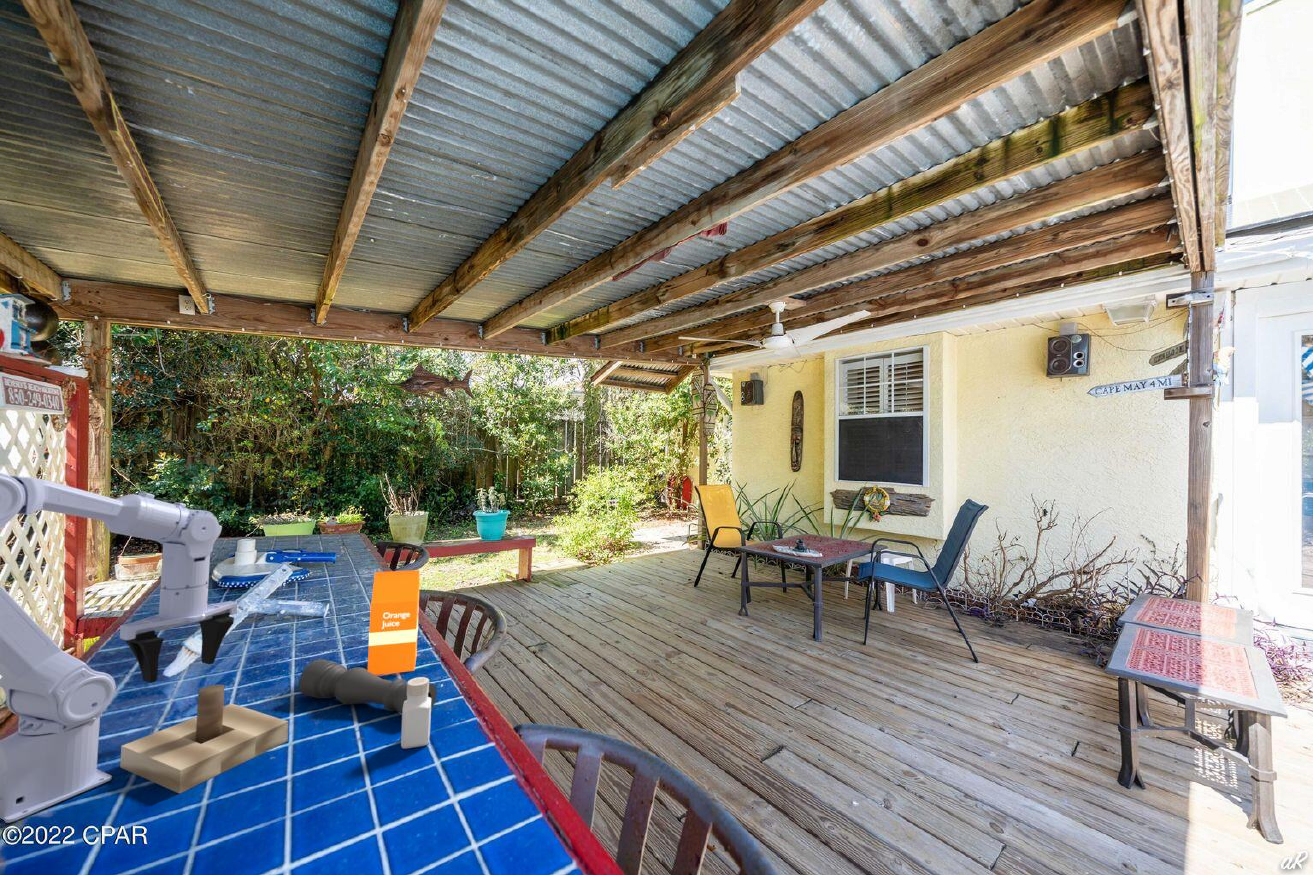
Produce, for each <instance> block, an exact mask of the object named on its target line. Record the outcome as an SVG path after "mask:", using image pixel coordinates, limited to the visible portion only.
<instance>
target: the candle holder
mask: <svg viewBox="0 0 1313 875" xmlns="http://www.w3.org/2000/svg"><path fill="white" fill-rule="evenodd" d="M407 682H408V681H406V680H405V679H404V678H397V679H395V680H393V681H392V680H388V679H383V678H381V677H379V675H378V676H377V675H374V674H373V673H371V672H369V671H368V669H366V668H364V667H353V668H349V669H347V668H346V667H345V666H344V665H342V664H339V663H338V662H336V661H332V660H326V659H320V658H319V659H316V660H314V661H313V660H312V661H311V662H310V663H309V664H307V665H306V667H305V668H304V669H303V671H302V672H301V674H300V676H299V680H298V689H299V691H300V692H299V693H301V694H302V695H304V696H308V697H311V698H314V699H315V698H317V699H332V698H334V697H336V698H337V700H338V701H339V702H340V703H342V704H343V705H359V704H371V703H372V704H378V705H382V706H383V708H384V709H385V710H386V711H388V712H394V711H397V712H398V713H399V714H400V715H401V716H402V710H403V704H404V701H406V700H407ZM437 692H438V691H437V687H436V685H435V684H434V683H431V682H429V692H428V697H430V698H431V711H432V710H433V708H434V706H435V705H436V700H437V697H438V696H437V695H438V694H437Z"/></svg>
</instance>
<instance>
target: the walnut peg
mask: <svg viewBox="0 0 1313 875" xmlns="http://www.w3.org/2000/svg"><path fill="white" fill-rule="evenodd" d="M225 688H226V687H225V685H224V684H212V685H207V686H205V687H202V688H200V689H199V690H198V691H197V693H198V694H197V708H196V710H197V712H196V717H197V724H196V741H195V742H197V743H199V744H202V743H204V742H207V741H209V740H211V739H214V738H216V737H218V736H221V735H222V723H223V707H224V706H225V705H224V704H225V703H224V702H225V701H224V700H225Z"/></svg>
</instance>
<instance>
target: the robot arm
mask: <svg viewBox="0 0 1313 875" xmlns="http://www.w3.org/2000/svg"><path fill="white" fill-rule="evenodd" d="M155 497H156V495H155V494H152V493H148V492H139V493H138V494H135V493H129V494H126V495H122V496H120V497H118V498H113V497H108V496H106V495H102V494H97V493H94V492H92V491H91V492H90V491H87V490H83V489H80V488H76V487H72V486H68V485H66V484H61V483H58V482H54V481H50V480H47V479H43V478H36V477H29V476H20V475H8V474H6V473H2V472H0V530H1V529H3V528H4V527H5V526H6V525H7V524H8V523H9V522H11V521H12V520H13V518H15V516H17V515H30V514H31V515H32V514H33V513H36V512H38V511H47V512H52V513H58V514H63V515H68V516H75V517H80V518H85V519H86V518H87V519H91V520H97V521H102V522H103V523H104V524H103V525H104V526H105V527H106V529H107V530H108V532H110V533H113V534H118V535H124V536H130V537H134V538H140V539H144V540H149V541H150V540H151V541H155V542H158V543H159V544H161V545H162V554H161V555H162V559H161V572H160V573H161V574H160V577H161V578H160V589H159V606H158V608H159V609H158V614H155V615H151V616H148V617H145V618H142V619H139V620H135V621H133V622H128V623H125V624H121V625H120V626H119V639H121V640H124V642H125V643H126V644H127V647H129V649H130V650H131V652H132V653H133V655H134V657H135V658H136V660H137V663H138V666H139V668H140V672H141V676H142V677H141V678H142V681H143V682H146V683H148V684H149V683H150V684H151V683H155V682H157V679H158V674H159V673H158V671H159V670H158V669H159V658H160V655H161V654H160V653H161V648H162V646H163V643H164V640H165V639H164V638H162V637H159V636H158V633H157V632H162V631H165V630H170V629H174V628H178V627H181V626H185V625H186V626H187V625H189V624H190V625H191V624H195V623H198V622H199V624H200V632H201V663H203V664H205V665H212V664H215V660H216V657H217V654H218V652H219V649H220V647H221V644H222V642H223V640H224V639H225V637H226V636H227V635H226V634H228V632H229V630H230V629H231V627H232V626H233V625H234V621H235V618H234V617H233V615H237V613H238V602H237V601H234V600H233V601H232V600H229V601H223V602H218V603H217V602H216V603H211V604H208V598H209V597H208V595H209V581H210V580H209V579H210V578H209V577H210V560H211V559H210V558H211V554H212V552H214V550H213V549H214V543H215V542H216V540H218V538H219V537H220V535H221V533H222V529H223V526H222V525H220V524H219V521H218V519H217V516H215V514H214V513H213V512H210V510H209V511H208V510H203V509H189V508H187V507H186V506H187V505H186V503H183V502H177V501H176V502H174V503H170V502H166V501H162V500H159V499H155ZM231 615H232V616H231ZM0 676H1V678H0V687H1V688H2V690H3V691H4V693H5V697H6V698H5V700H6V701H5V702H6V703H5V704H6V705H7V709H8V710H9V711H10V712H11V713H12V714H15V715H17V716H18V722H17V723H18V730H17V731H16V732H14V733H12V734H10V735H8V736H7V737H3V738H2V739H0V818H1V819H3V820H4V821H5V822H4V821H3V822H4V823H6V824H9V823H10V824H11V823H12V822H13V823H14V822H15V821H18V820H20V819H23V818H25V817H28V816H30V815H32V814H35V813H37V812H40V811H41V810H44V809H46V808H49V807H51V806H53V805H56V804H58V803H60V802H62V801H63V802H64V801H65V800H68V799H70V798H72V797H75V796H77V795H79V794H82V793H84V792H86V791H89V790H92V789H93V788H95V787H98V786H100V785H102V784H105V783H107V782H110V781H111V780H112V778H113V776H112V775H111V774H109V773H106V772H104V771H102V770H101V769H98V756H99V755H98V754H99V753H98V752H99V740H100V738H99V737H100V736H99V735H100V723H101V718H102V714H103V712H104V710H106V709H107V707H108V706H109V705H110V704H111V702H112V700H113V699H114V697H115V694H116V690H117V686H116V681H115V679H114V677H112V676H111V675H110V674H109V673H107V672H103V671H98V670H95V669H92V668H91V667H90V666H88V664H87V663H86V662H84V661H83V660H80V659H79V658H77V657H75V656H74V655H71V654H69V653H68V652H66V651H64V650H62V648H60V647H59V645H58V644H56V642H55V641H54V640H53V639H52V637H50V636H49V635H48V634H47V633H46V632H45V630H43V629H42V627H41V626H39V624H38V623H37V622H36V621H35V620H34V619H33V618H32V617H31V616H30V615H29V614H28V612H26V610H24V609H23V607H21V605H20V604H19V603H18V602H17V601H16V600H15V599H14V598H13V597H12V596H11V594H9V592H8V591H7V590H6V589H5V588H4V587H3V586H2V585H1V584H0ZM1 819H0V820H1Z"/></svg>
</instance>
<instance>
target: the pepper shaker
mask: <svg viewBox="0 0 1313 875" xmlns="http://www.w3.org/2000/svg"><path fill="white" fill-rule="evenodd" d="M406 682H407V700H406V701H404V704H403V710H402V715H401V731H400V732H401V733H400V735H401V736H400V746H401V748H402V749H411V748H419V747H424V746H426V745H428V744H429V742H430V737H431V736H430V735H431V718H432V717H431V714H432V710H431V698H430V697H428V692H429V683H430V679H429V678H428V677H424V676H420V677H414V678H411V679H409V680H408V681H406Z"/></svg>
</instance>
